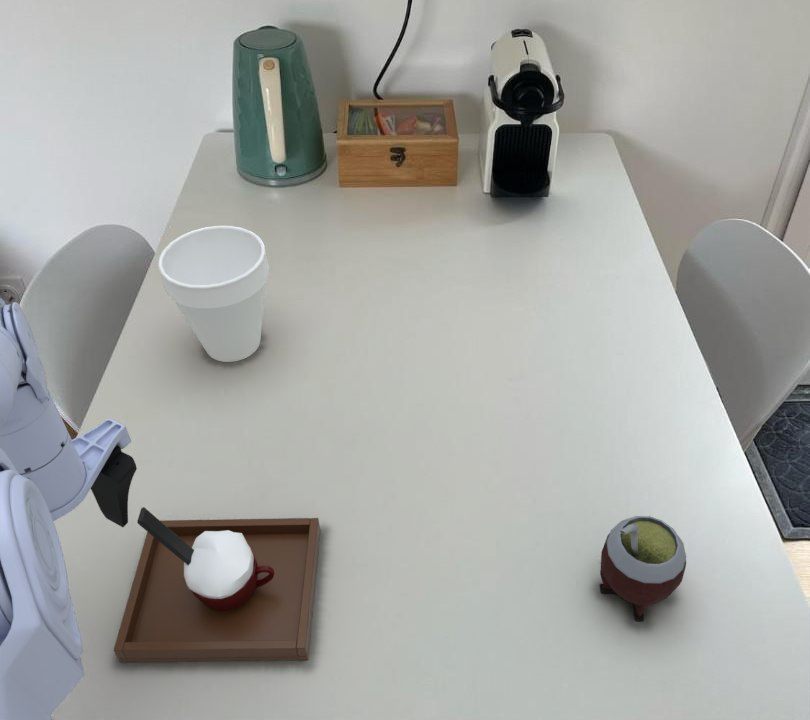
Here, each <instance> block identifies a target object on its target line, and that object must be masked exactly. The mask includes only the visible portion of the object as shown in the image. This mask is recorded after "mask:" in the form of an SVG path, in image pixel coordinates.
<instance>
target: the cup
mask: <svg viewBox="0 0 810 720" xmlns="http://www.w3.org/2000/svg"><path fill="white" fill-rule="evenodd" d="M160 253H161V254H160V255H159V257H158V264H157V265H158V266H157V267H158V270H159V272H160V275H161V280H162V285H163V289H164V291H165V293H166V296H168V297H169V298H170V299H171V300H172V301H173V302H174V303H175V304H176V306H177V307H178V309H179V311H180V312H181V314H182V315H183V317H184V318H185V320H186V322H187V324H188V325H189V326H190V328H191V330H192V332H193V333H194V334H195V336H196V338H197V339H198V341H199V342H200V344H201V345H202V348H203V349H204V350H205V351H206V353H207V355H208V356H209V357H210V358H211V359H213V360H215V361H217V362H222V363H233V362H239V361H242V360H244V359H247V358H249V357H251V356H252V355H253V354H254V353H255V352H256V351H257V350H258V348H259V347H260V344H261V338H262V337H261V336H262V328H263V316H264V306H265V295H266V285H267V281H268V279H269V275H270V264H269V261H268V257H267V254H266V253H267V252H266V246H265V243H264V241H263V240H262V238H261V237H260V236H259V235H258V234H256V233H255V232H253V231H252V230H249V229H246V228H244V227H239V226H234V225H212V226H205V227H201V228H198V229H194V230H190V231H189V232H187V233H184V234H182V235H180V236H178V237H176V238H175V239H174V240H172V241H171V242H169V243H168V244H167V245H166V247H165V248H163V250H162V251H161V252H160Z"/></svg>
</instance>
